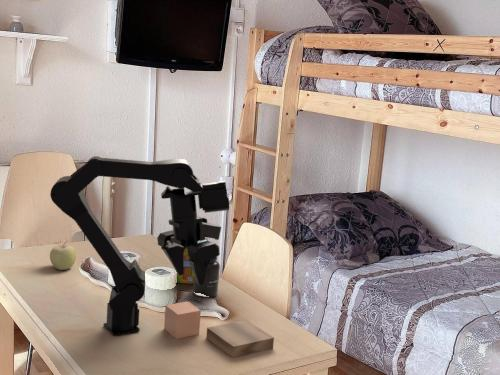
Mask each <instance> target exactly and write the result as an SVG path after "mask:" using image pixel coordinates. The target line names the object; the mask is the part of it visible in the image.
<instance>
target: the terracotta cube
mask: <svg viewBox="0 0 500 375" xmlns="http://www.w3.org/2000/svg"><path fill="white" fill-rule="evenodd" d="M164 307H165V310H164V326H163V327H164V331H166V332H167V333H168V334H170V335H171V337H173V338H175V339H177V340H178V339H182V338H188V337H192V336H193V337H194V336H196V335H197V336H198V335H200V326H201V312H202V310H201V309H200V308H198V307H197V306H196V305H194V304H193V303H191V302H190V301H183V302H177V303H170V304H166V305H165V306H164Z"/></svg>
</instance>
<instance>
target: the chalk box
mask: <svg viewBox="0 0 500 375" xmlns="http://www.w3.org/2000/svg"><path fill="white" fill-rule="evenodd" d="M204 241H209V238H207V237H205V240H203V241H198V243H200V242H204ZM188 259H190V258H189V256H188V249H187V248H185V250H184V271H183V275H178V273H177V282H178V283H177V284H186V285H187V284H188V285H189V284H190V285H193V284H194V273H193V270H192V268H191V266H190V263H189V261H188Z"/></svg>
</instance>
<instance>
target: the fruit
mask: <svg viewBox="0 0 500 375" xmlns="http://www.w3.org/2000/svg"><path fill="white" fill-rule="evenodd" d="M49 260H50V263H51V265H52V266H53V267H54V268H55V269H56V270H60V271H65V270H69V269H71V268H72V267H73V266H74V264H75V263H76V260H77V253H76V250H75V248H74V247H73V246H72V245H69V244H66V242H63V244H59V245H56V246H55V245H54V246H53V248H52V249H51V250H50V253H49Z"/></svg>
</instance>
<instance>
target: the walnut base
mask: <svg viewBox="0 0 500 375" xmlns="http://www.w3.org/2000/svg"><path fill="white" fill-rule="evenodd" d="M205 337H206V339H208V340H209V341H210V342H212V343H213V344H214V345H215V346H217V347H218V348H219V349H220V350H222V351H224V352H225V353H226V354H228V355H229V356H230V357H231V358H236V357H241V356H246V355H249V354H253V353H258V352H262V351H267V350H270V349H273V348H274V342H275V341H274V340H275V338H274V336H272V335H271V334H269V333H267V332H266V331H265V330H262V329H261V328H259V327H258V326H256V325H255V324H254V323H252V322H251V321H248V320H247V319H244V320H239V321H235V322H229V323H224V324H218V325H214V326H209V327H207V328H206V336H205Z"/></svg>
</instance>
